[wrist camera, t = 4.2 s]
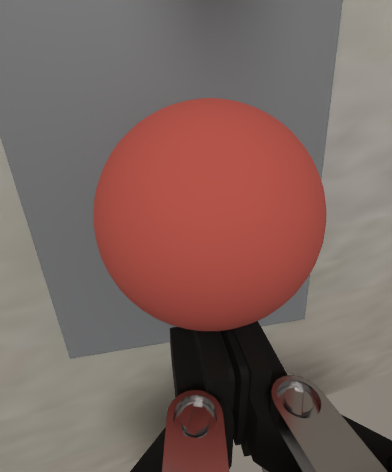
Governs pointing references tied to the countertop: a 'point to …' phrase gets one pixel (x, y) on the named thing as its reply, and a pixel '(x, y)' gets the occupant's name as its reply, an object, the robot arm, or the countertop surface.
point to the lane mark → (140, 119)
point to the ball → (209, 214)
